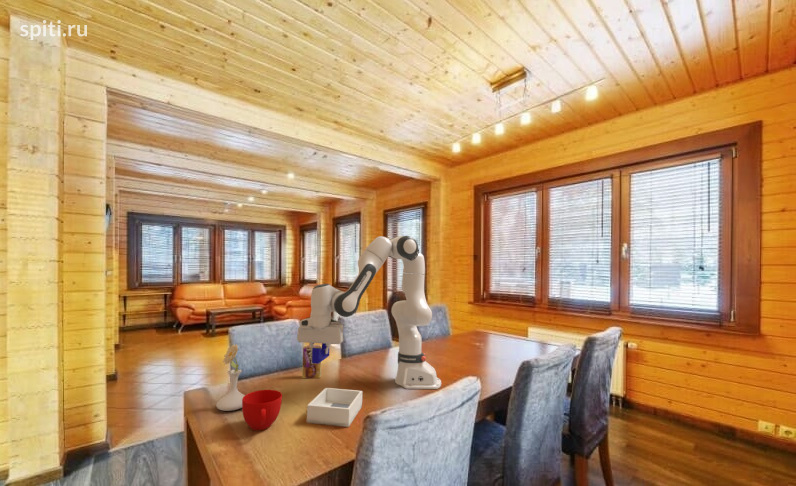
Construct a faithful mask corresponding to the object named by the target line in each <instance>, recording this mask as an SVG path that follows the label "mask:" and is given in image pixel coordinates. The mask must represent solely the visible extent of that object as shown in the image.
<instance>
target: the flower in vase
mask: <svg viewBox="0 0 796 486" xmlns="http://www.w3.org/2000/svg"><path fill="white" fill-rule="evenodd" d="M238 350H239V346H238V344H237V343H235V344H234V343H233V344H232V345H231V346H230V347H228V348H227V351H226V354H224V358H223V361H222V362H223V363H224V365H229V364H230V366H231V367H232V368H234V369H230V370H228V371H227V374H228V375H229V378H230V389H229V391H228V392H227V393H226V394H225V395H224V396H222V397H221V398H220V399H219V400H218V401H217V403H216V408H217V409H218V410H220V411H224V412H225V411H228V412H230V411H231V412H232V411H236V410H239V409H242V399H243V397H244V396H245V395H246V394H244V393H242V392H240V391H239V390H238V379H239V376H240V375H241V373H242V369H238V368H239V364H238V360H237V358H236V356H237V353H238ZM234 360H235V362H236V363H235V362H234Z"/></svg>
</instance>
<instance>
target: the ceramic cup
mask: <svg viewBox="0 0 796 486" xmlns="http://www.w3.org/2000/svg"><path fill="white" fill-rule="evenodd" d="M244 395H245V396H244V397H243V399H242V408H241V409H242V410H241V411H242V415H243V419H244V421H245V423H246V424H247V426H249V427H250V429H251V430H254V431H263V430H264V431H265V430H267V429H269V428H270V427H271V426H272V425H273V424H274V423H275V421H276V420H277V418H278V416H279V413H280V412H281V408H282V401H283V400H282V399H283V393H282V392H281V391H279V390H276V389H259V390H254V391H251V392H248V393H247V394H244Z"/></svg>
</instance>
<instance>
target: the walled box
mask: <svg viewBox="0 0 796 486" xmlns="http://www.w3.org/2000/svg"><path fill="white" fill-rule="evenodd" d="M362 407H363V390H358V389H357V390H356V389H355V390H354V389H344V388H343V389H342V388H332V387H325V388H324V389H323V390H321V391H320V393H318V394H317V395H316V396H315V397H314V398H313V399H312V400H311V401H310V402H309V403H308V404H307V407H306V408H307V409H306V423H307V424H317V425H326V426H335V427H345V428H349V427H350V425H351V424H352V423H353V421H354V419H355V418H356V417H357V416H358V413H359V412H360V410H361V409H362Z"/></svg>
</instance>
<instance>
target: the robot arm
mask: <svg viewBox="0 0 796 486" xmlns="http://www.w3.org/2000/svg"><path fill="white" fill-rule="evenodd" d="M388 258H391V259H395V260H396V259H397V260H401V261H402V264H403V268H402V281H401V290H402V291H403V293H404V296H405V299H406V300H405V299H404V300H399V301H396V302H394V303H393V304H392V306H391V315H392V317H393V318H394V321H395V323H396V327H397V331H398V353H397V370H396V371H397V372H396V376H395V379H394V383H395V384H396V385H398V386H401V387H403V388H404V389H407V390H409V389H411V390H413V389H414V390H438V389H439V388H441V387H442V380H441V379H440V378H439V377H437V375H438V374H437V371H436V369H435V368H434V367H433V366H432V365H431V364H430V363H428V362H427V361H426V360H427V357H426V353H424V352H422V344H423V343H422V341H423V340H422V335H421V334H420V332H419V329H418V327H425V326H427V325H429V324H430V323H431V320H432V319H433V312H432V309H431V308H430V307H429V304H428V301H427V298H426V295H425V275H426V265H425V264H426V263H425V256H424V255H423V253H421V252H420V249H419V245H418V242H417V240H416V239H415V238H414V237H412V236H410V235H401V236H400V235H399V236H397V237H392V238H390V239H389V238H388V237H386V236H377V237H375V238H374V239H373V240H372V241H371V242H370V243H369V244H368V245H367V246H366V248H365V249H364V250H363V251H362V253H361V255H360V256H359V258H358V260H357V265H358V275H357V277H356V278H355V279H354V281H353V282H352V284H351V285H350V287H349V288H348V289H347V290H346V291H343V290H341V289H338V288H335V287H334V286H332V285H331V284H330V283H321V284H317V285H315V286H313V288H312V289H311V293H310V294H311V295H310V307H311V310H310V311H311V312H310V317H307V318H304V319H301V320H300V321H299V323H298V324H299V327H298V329H297V332H296V333H297V336H296V340H297V342H299V343H307V344H308V343H309V345H310V347H311V349H313V348H314V345H315V344H322V343H325V344H326V346H327V348H326V349H324V350H323V351H324V352H323V354H328V349H329V350H330V347H331V346H332V345H340V344H342V343H343V342H344V324H343V323H341V322H340V321H332V313H333V312H335V313H337V315H339V316H340V317H343V318H350V317H351V316H353V315H354V314H356V312H357V310H358V309H359V306H360V301H361V299H362V297H363V295H364V293H365V292H366V290H367V289H368V287H369V285H371V282H372V280H374V277H375V276H376V274H377V273H378V272H379V270H380V268H381V267H382V266H384V263H385V262H386V260H387V259H388ZM381 269H382V268H381ZM309 345H308V346H309Z"/></svg>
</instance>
